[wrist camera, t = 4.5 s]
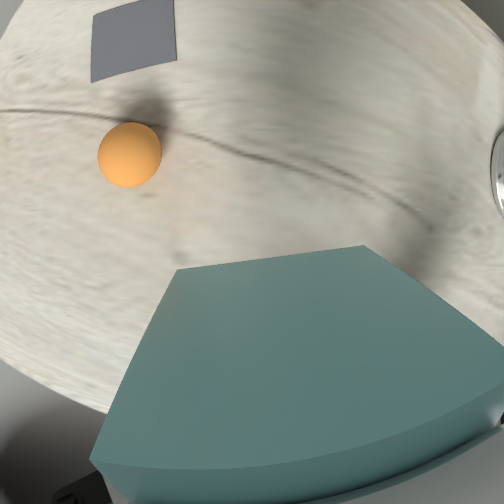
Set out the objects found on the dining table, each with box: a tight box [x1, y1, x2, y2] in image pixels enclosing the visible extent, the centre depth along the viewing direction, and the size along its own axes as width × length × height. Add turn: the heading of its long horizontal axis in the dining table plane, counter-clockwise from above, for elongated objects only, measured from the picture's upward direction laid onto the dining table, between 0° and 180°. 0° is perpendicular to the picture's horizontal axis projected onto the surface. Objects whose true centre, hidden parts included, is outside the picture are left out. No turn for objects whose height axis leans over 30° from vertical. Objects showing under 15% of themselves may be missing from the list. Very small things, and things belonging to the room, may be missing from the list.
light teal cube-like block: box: [89, 245, 504, 504], centre depth 8 cm, size 8×8×9 cm
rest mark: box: [91, 0, 177, 83], centre depth 19 cm, size 8×8×1 cm
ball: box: [98, 122, 162, 187], centre depth 20 cm, size 5×5×5 cm
